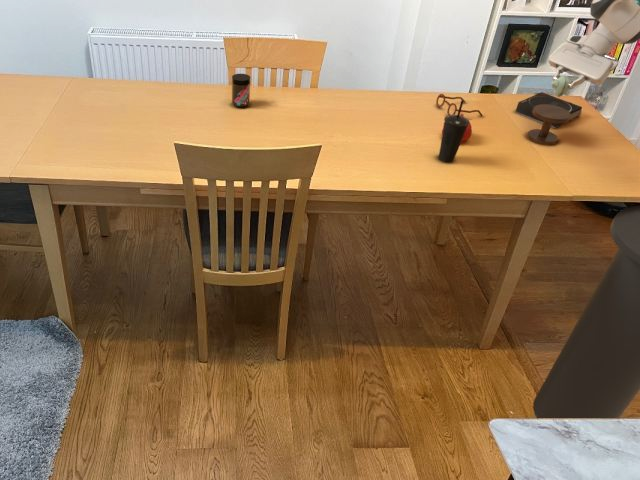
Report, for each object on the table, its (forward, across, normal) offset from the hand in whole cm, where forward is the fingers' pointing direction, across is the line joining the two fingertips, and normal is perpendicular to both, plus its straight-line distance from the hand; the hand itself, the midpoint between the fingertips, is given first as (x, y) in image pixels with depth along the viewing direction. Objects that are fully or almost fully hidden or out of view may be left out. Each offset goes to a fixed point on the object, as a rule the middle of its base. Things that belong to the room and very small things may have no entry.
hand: (561, 84), depth 192 cm
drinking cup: (+43, +3, +15) cm, 46 cm away
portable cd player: (+1, +13, -27) cm, 30 cm away
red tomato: (+34, +13, +6) cm, 37 cm away
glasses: (+21, +30, -7) cm, 37 cm away
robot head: (+3, 0, -4) cm, 5 cm away
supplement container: (+73, +68, +45) cm, 109 cm away
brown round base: (+13, 0, -14) cm, 20 cm away
